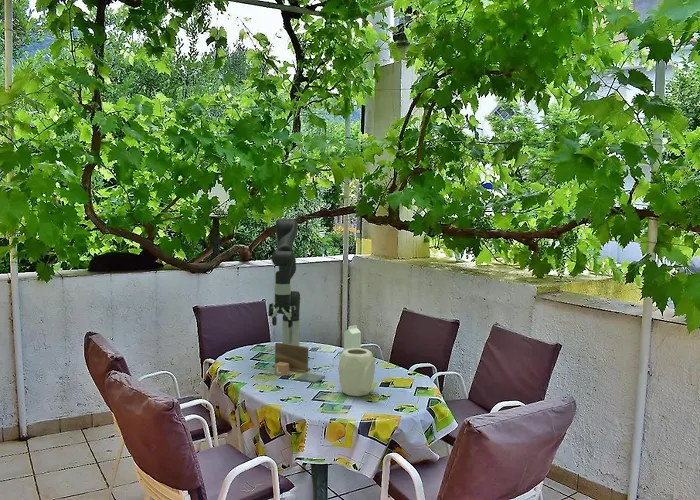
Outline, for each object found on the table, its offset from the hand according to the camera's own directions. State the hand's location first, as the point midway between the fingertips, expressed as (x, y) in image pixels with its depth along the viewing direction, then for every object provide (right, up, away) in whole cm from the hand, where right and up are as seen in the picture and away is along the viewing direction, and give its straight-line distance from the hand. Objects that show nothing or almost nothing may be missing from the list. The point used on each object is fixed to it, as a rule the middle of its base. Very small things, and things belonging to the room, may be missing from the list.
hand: (282, 326), depth 284 cm
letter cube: (-1, -23, +2) cm, 23 cm away
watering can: (+36, -27, -24) cm, 51 cm away
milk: (+33, -23, +13) cm, 42 cm away
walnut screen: (+3, -22, +10) cm, 25 cm away
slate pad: (+14, -24, -5) cm, 28 cm away
